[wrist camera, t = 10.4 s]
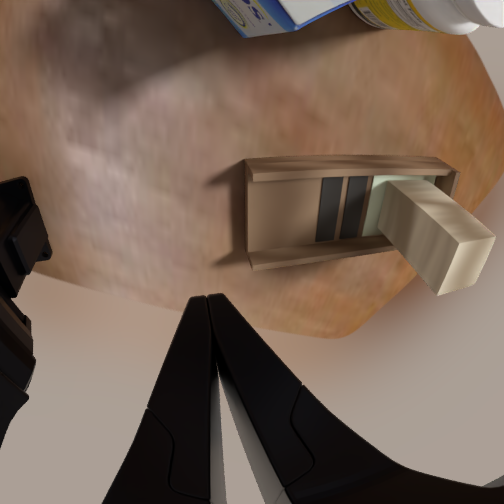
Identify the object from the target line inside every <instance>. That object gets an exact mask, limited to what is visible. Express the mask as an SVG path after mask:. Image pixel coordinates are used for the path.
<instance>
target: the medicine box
mask: <svg viewBox="0 0 504 504" xmlns="http://www.w3.org/2000/svg"><path fill="white" fill-rule="evenodd" d="M212 1H213V2H214V4H215V5H216V6H217V7H218V8H219V9H220V11H221V12H222V13H223V14H224V15H225V16H226V18H227V19H228V20H229V21H230V22H231V24H232V25H233V26H234V27H235V29H236V30H237V31H238V32H239V33H240V35H241V36H242V37H243V38H250V37H256V36H262V35H270V34H278V33H285V32H293V31H297V30H299V29H300V28H302V27H303V26H305V25H307V24H309V23H311V22H313V21H315V20H317V19H318V18H320V17H322V16H324V15H326V14H328V13H330V12H332V11H334V10H336V9H339V8H341V7H343V6H345V5H347V4H349V3H352V2H354V1H356V0H212Z"/></svg>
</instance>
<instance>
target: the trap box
mask: <svg viewBox="0 0 504 504" xmlns="http://www.w3.org/2000/svg"><path fill="white" fill-rule="evenodd" d="M459 176H460V172H458V171H457V170H455V169H454V168H452V167H451V166H449V165H448V164H446V163H445V162H443V161H441V160H440V159H438V158H436V157H417V156H391V155H315V156H287V157H268V158H252V159H245V250H246V253H247V256H248V259H249V262H250V265H251V268H252V271H257V270H265V269H272V268H279V267H286V266H293V265H300V264H307V263H314V262H321V261H328V260H335V259H341V258H348V257H355V256H361V255H368V254H374V253H381V252H387V251H394V250H397V248H396V247H395V246H394V245H393V244H392V243H391V242H390V241H389V239H388V238H387V237H386V236H385V235H384V234H383V233H382V232H381V231H380V230H379V229H378V227H377V226H378V222H379V218H380V213H381V209H382V204H383V200H384V195H385V190H386V186H387V181H388V180H427V181H429V182H430V183H431V184H433V185H434V186H436V187H437V188H438V189H440V190H441V191H442V192H443V193H445V194H446V195H447V196H449V197H450V198H451V199H453V197H454V194H455V190H456V187H457V183H458V180H459Z"/></svg>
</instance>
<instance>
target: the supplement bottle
mask: <svg viewBox="0 0 504 504" xmlns="http://www.w3.org/2000/svg"><path fill="white" fill-rule="evenodd" d="M348 5H349V6H350V8H351V9H352V11H353V12H354V13H355V14H356V15H357V16H358V17H359V18H360V19H361V20H363V21H364V22H366V23H367V24H369V25H371V26H374V27H377V28H382V29H397V30H415V31H428V32H437V33H445V34H456V35H463V34H467V33H470V32H473V31H474V30H476V29H477V28H478V27H479V26H480V25H483V26H489V27H495V28H504V0H356V1H354V2H352V3H349V4H348Z"/></svg>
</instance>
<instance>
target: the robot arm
mask: <svg viewBox="0 0 504 504" xmlns="http://www.w3.org/2000/svg"><path fill="white" fill-rule="evenodd" d="M20 182H22V183H23V184H24V187H22V186H21V184H20ZM44 252H46V253H47V254H45V253H44ZM51 256H52V249H51V246H50V244H49V241H48V234H47V231H46V228H45V226H44V223H43V220H42V217H41V214H40V211H39V208H38V206H37V205H36V203H35V200H34V197H33V193H32V190H31V187H30V183H29V180H28V179H27V178H26V177H24V176H21V177H17V178H13V179H10V180H6V181H2V182H0V448H1V445H2V442H3V439H4V436H5V434H6V431H7V429H8V426H9V424H10V422H11V420H12V419H13V417H14V416H15V414H16V413H17V411H18V410H19V409H20V408H21V407H22V406H23V405H24V404H25V403H26V402H27V401H28V399H29V395H28V394H27V393H25V392H26V390H27V388H28V387H29V384H30V382H31V378H32V375H33V372H34V368H35V365H36V359H35V357H34V356H33V339H32V336H31V320H30V319H29V318H28V317H27V316H26V315H24V314H23V313H22V312H21V311H20V310H19V308H18V307H17V306H16V305H15V303H14V302H13V301H12V300H11V298H16V297H17V295H18V292H19V290H20V288H21V285H22V283H23V281H24V279H25V277H26V275H29V274H30V273H31V271H32V269H33V266H34V264H35V262H38V261H45V260H49V259H50V258H51ZM217 368H218V369H217ZM218 372H219V377H220V380H221V384H222V386H223V389H224V393H225V396H226V399H227V401H228V405H229V408H230V411H231V413H232V416H233V419H234V422H235V425H236V428H237V431H238V433H239V436H240V439H241V442H242V444H243V447H244V450H245V453H246V455H247V458H248V461H249V463H250V466H251V469H252V471H253V474H254V476H255V479H256V482H257V484H258V487H259V489H260V492H261V494H262V496H263V499H264V502H265V504H504V475H503V476H501V477H500V478H498V479H496V480H494V481H492V482H490V483H488V484H486V485H484V486H482V487H481V486H476V485H471V484H466V483H461V482H457V481H452V480H448V479H444V478H440V477H436V476H433V475H429V474H425V473H422V472H418V471H415V470H412V469H409V468H407V467H404V466H402V465H400V464H398V463H396V462H395V461H393V460H391V459H390V458H389V457H387V456H386V455H384V454H383V453H381V452H380V451H379V450H378V449H376V448H375V447H374V446H372V445H371V444H370V443H368V442H367V441H366V440H364V439H363V438H362V437H361V436H359V435H358V434H357V433H356V432H354V431H353V430H352V429H350V428H349V427H348V426H347V425H345V424H344V423H343V422H342V421H341V420H339V419H338V418H337V417H336V416H335V415H334V414H332V413H331V412H330V411H329V410H328V409H327V408H326V407H325V406H324V405H323V404H322V403H321V402H320V401H319V400H318V399H317V398H316V397H315V396H314V395H313V394H312V393H311V392H310V391H309V390H308V389H307V388H306V387H305V385H302V382H301V381H300V380H299V379H298V378H297V377H296V376H295V375H294V374H293V372H292V371H291V370H290V369H289V368H288V367H287V366H286V365H285V364H284V363H283V362H282V360H281V359H280V358H279V357H278V356H277V355H276V354H275V352H274V351H273V350H272V349H271V348H270V347H269V346H268V345H267V344H266V343H265V341H264V340H263V339H262V338H261V337H260V336H259V334H258V333H257V332H256V331H255V330H254V329H253V328H252V326H251V325H250V324H249V323H248V322H247V321H246V319H245V318H244V317H243V316H242V315H241V314H240V312H239V311H238V310H237V309H236V308H235V307H234V305H233V304H232V303H231V302H230V301H229V300H228V298H227V297H226V296H225V295H224V294H223V293H217V294H209V295H208V296H207V298H206V296H205V295H201V296H194V297H191V298H190V299H189V300H188V303H187V305H186V308H185V310H184V313H183V315H182V318H181V320H180V322H179V325H178V328H177V330H176V332H175V335H174V337H173V340H172V342H171V345H170V348H169V350H168V352H167V355H166V357H165V360H164V363H163V365H162V368H161V370H160V373H159V375H158V378H157V381H156V384H155V386H154V389H153V391H152V394H151V396H150V399H149V402H148V404H147V407H148V409H146V410H145V413H144V415H143V418H142V420H141V423H140V425H139V428H138V430H137V433H136V435H135V438H134V441H133V443H132V445H131V447H130V449H129V451H128V453H127V455H126V457H125V459H124V461H123V463H122V465H121V467H120V469H119V471H118V473H117V475H116V477H115V479H114V481H113V483H112V485H111V487H110V488H109V490H108V492H107V494H106V497H105V498H104V500H103V502H102V504H227V502H226V491H225V477H224V463H223V448H222V432H221V414H220V394H219V377H218Z"/></svg>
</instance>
